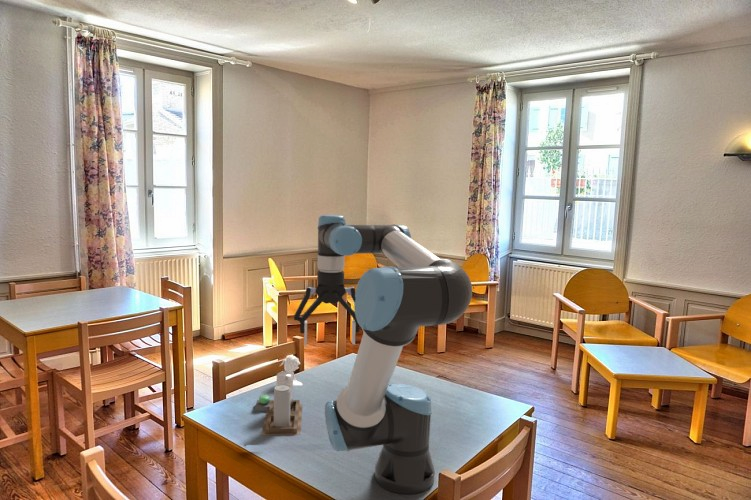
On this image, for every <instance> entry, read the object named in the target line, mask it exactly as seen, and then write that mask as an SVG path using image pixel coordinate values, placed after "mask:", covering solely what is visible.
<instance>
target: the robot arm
mask: <svg viewBox="0 0 751 500" xmlns="http://www.w3.org/2000/svg"><path fill="white" fill-rule="evenodd" d="M354 254H355V255H356V254H383V255H384V257H386V258H388V259H389V261H391V262H392V263H393V264H394V265H396V266H397V267H394V266H391V265H390V266H389V265H388V266H387V265H385V266H382V267H374V268H370V269H367V270H366V271H365V272H364V273H363V274H362V275H361V276H360V279H359V280H358V282H357V285H356V288H355V287H354V286H353V285H352V286H350V287H345V272H344V270H345V264H346V263H345V262H346V261H345V259H346V258H345V257H346V256H348V257H349V256H353V255H354ZM317 269H318V270H317V278H316V279H317V280H316V281H317V282H316V284H317V285H316V287H310V286H309V285H308V286H306V288H305V294H304V296H303V298H302V299H301V302H300V304H299V305H298V306H297V309H296V310H295V313H294V315H293V320H294V321H296V322H297V321H298V322H299V323H300V324H299V325H300V328H299V329H300V330H299V332H300V334H303V335H304V336H303V346H305V347H306V346H307V345H308V320H307V319H308V318H309V317H310V316H311V315H312V313H314V311H315V310H316V309H317V308H318V307H319V306H320V305H321V304H322V303H323V304H337V303H340V305H342V307H343V308H344V309H345V310H346V312H348V314H349V315H350V316H351V317H352V320H351V344H352V345H353V346H356V333H359V332H360V329H362V332H363V334H362V336H361V340H360V344H359V347H358V351H357V354H356V357H355V361H354V363H353V367H352V371H351V373H350V377H349V380H348V384H347V386H345V387H344V388H342V389H341V391H340V392H339V394H338V395H337V398H336V400H335V399H331V400H329V401H326V403H325V405H324V417H325V424H326V430H327V435H328V440H329V443H330V445H331V447H332V449H333V450H334V451H336V452H344V451H345V452H350V451H354V450H360V449H366V448H371V447H377V446H382V447H381V450H380V453H379V455H378V457H377V460H376V463H375V466H374V468H375V469H374V477H375V480H376V482H377V483H378V484H379V485H380V486H381V487H382V488H383V489H386V490H387V491H390V492H392V493H396V494H402V495H405V494H406V495H413V494H415V495H416V494H419V493H422V492H425V491H427V490H428V489H430V488H431V487H432V486H433V484H434V482H435V473H436V472H435V467H434V463H433V460H432V455H431V452H430V435H431V423H432V422H431V421H432V419H431V418H432V413H433V411H432V398H431V396H430V395H429V393H427V391H425V390H424V389H422V388H421V387H420V388H419V387H418V386H415V385H412V384H405V383H392V384H391V383H390V382H391V380H392V377H393V375H394V372H395V370H396V367H397V364H398V361H399V359H400V356H401V354H402V351H403V348H404V347H405V346H408V345H409V344H411V342H412V341H413V340H414V339H415V337H416V335H417V332H418V331H419V328H420V327H431V326H443V325H446V324H450V323H453V322H454V321H456V320H458V319H459V318H460V317H461V316H463V315H464V314H465V312H466V311H467V309H468V308H469V306H470V303H471V301H472V297H473V285H472V281H471V279H470V277H469V275H468V274H467V272H466V271H465V270H464V269H463V268H462V267H461V266H459V264H457V263H456V262H454V261H452V260H450V259H446V258H440V257H438V256H437V255H436V254H434V253H433V252H432V251H429V250H428V249H427V248H426V247H425V246H423V245H422V244H419V243H418V242H416V241H415V240H414V239H412V235H411V232H410V230H409V227H408V226H406V225H400V224H396V223H395V224H346V218H345V216H344V215H339V214H323V215H320V216H318V222H317ZM314 293H316V295H317V298H316V299H315V300H314V301H313V302H312V303H311V305H310V306H309V307H308V308H307V309H306V310H305V312H304V313H303V314H302V312H303V310H304V309H305V307H306V305H307V303H308V301H309V299H310V297H311V296H313V294H314ZM346 293H347V294H348V295H349V296H351V299H352V300H353V304H354V310H353V309H352V307H351V306H350V305H349V304H348V303H347V301H346V300H345V299H344V297H343V296H344V295H345V294H346ZM301 314H302V315H301Z"/></svg>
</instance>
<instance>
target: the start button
mask: <svg viewBox="0 0 751 500" xmlns="http://www.w3.org/2000/svg"><path fill="white" fill-rule="evenodd" d="M258 400H259V403H261V404H267V403H269V401H270V400H271V399H270V395H268V394H265V395H264V394H263V395H260V396H259V397H258Z"/></svg>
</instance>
